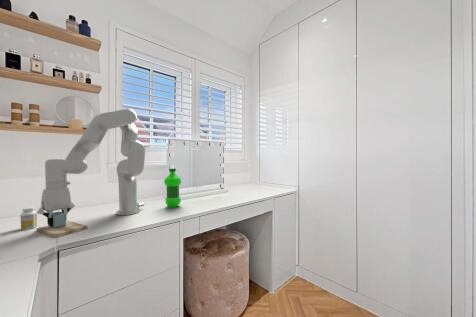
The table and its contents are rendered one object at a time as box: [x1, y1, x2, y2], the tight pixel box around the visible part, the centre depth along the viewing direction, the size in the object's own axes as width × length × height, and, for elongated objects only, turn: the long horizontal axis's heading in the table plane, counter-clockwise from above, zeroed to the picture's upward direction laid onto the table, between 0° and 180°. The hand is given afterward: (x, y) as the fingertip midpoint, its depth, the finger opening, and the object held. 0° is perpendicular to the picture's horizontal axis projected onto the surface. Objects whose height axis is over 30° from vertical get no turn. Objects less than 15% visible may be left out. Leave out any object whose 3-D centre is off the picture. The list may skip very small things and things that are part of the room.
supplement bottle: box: [20, 206, 38, 231], centre depth 100 cm, size 5×5×10 cm
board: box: [36, 220, 88, 238], centre depth 97 cm, size 12×18×1 cm, turn 62°
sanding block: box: [50, 210, 67, 228], centre depth 98 cm, size 7×4×6 cm, turn 62°
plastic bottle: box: [163, 167, 182, 208], centre depth 137 cm, size 10×10×25 cm
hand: (57, 223), depth 98 cm, fingers closed on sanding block, 4 cm apart
